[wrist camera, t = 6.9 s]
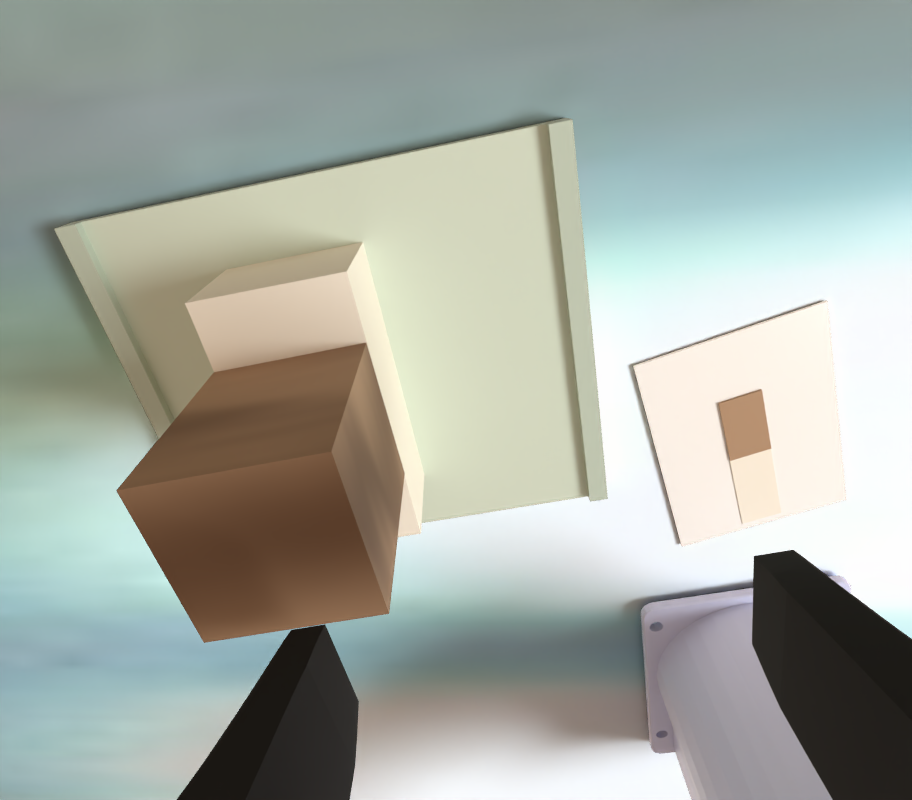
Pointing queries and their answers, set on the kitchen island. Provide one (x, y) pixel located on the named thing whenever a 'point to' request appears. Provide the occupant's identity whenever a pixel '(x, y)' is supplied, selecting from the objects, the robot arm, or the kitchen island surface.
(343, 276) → the base brick
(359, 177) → the plate
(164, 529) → the walnut brick
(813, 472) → the page
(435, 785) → the kitchen island surface
